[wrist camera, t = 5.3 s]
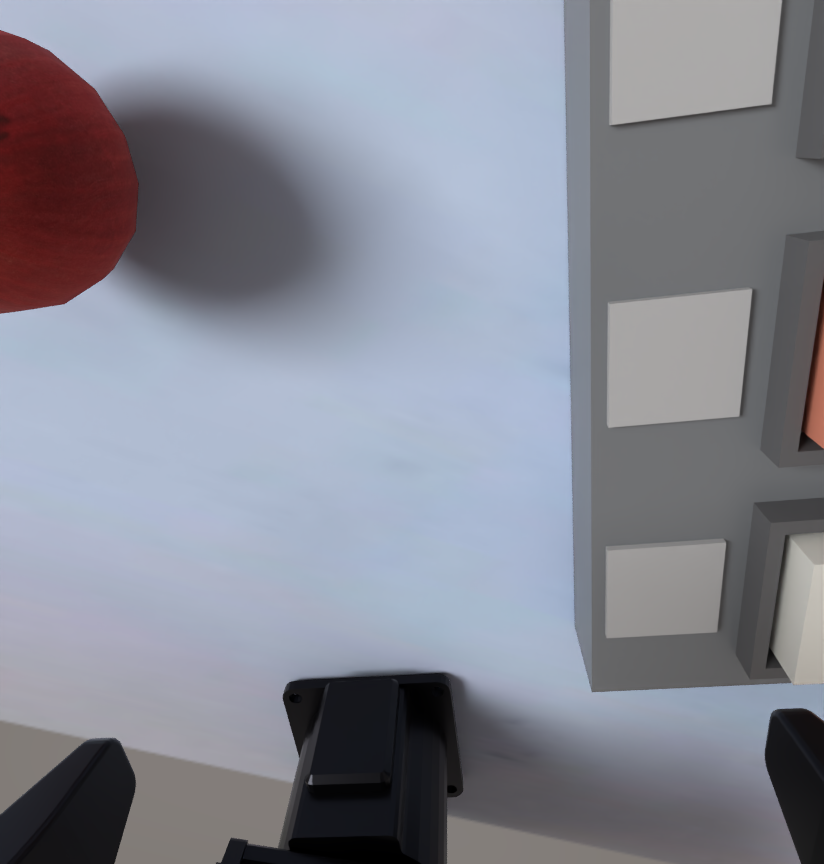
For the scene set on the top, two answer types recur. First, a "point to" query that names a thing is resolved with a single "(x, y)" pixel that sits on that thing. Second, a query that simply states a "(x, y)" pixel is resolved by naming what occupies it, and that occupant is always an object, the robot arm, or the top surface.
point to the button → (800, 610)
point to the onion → (57, 181)
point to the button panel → (691, 328)
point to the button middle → (816, 385)
